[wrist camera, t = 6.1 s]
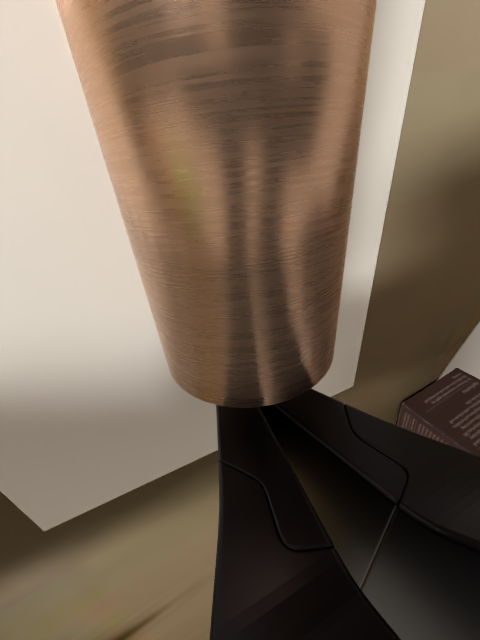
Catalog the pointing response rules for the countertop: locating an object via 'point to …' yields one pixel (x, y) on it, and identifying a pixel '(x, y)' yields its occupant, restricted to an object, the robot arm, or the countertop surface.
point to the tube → (232, 175)
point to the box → (446, 411)
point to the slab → (126, 279)
